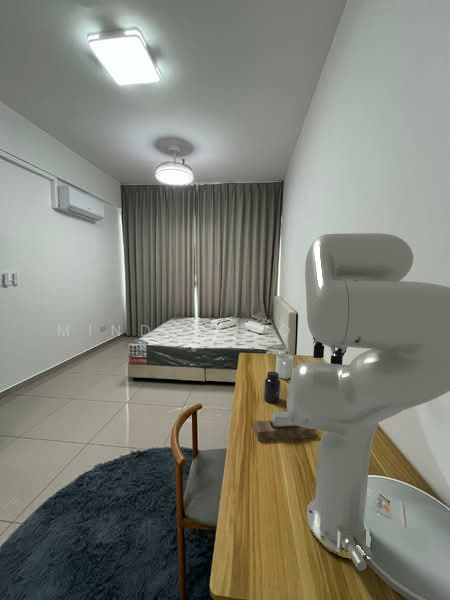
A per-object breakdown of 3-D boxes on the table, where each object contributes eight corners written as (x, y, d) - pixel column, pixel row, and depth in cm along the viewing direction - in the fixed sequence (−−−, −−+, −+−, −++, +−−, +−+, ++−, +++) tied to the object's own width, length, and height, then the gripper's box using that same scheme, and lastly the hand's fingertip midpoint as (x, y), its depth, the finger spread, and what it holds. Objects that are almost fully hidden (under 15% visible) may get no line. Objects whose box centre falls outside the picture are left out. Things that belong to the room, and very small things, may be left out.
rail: (307, 426, 89) (308, 418, 88) (315, 437, 83) (316, 428, 82) (253, 429, 86) (253, 421, 86) (257, 440, 80) (258, 431, 80)
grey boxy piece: (293, 430, 86) (294, 411, 86) (296, 435, 83) (297, 416, 83) (271, 431, 85) (272, 412, 84) (274, 437, 82) (275, 417, 82)
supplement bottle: (279, 404, 103) (281, 377, 102) (263, 402, 105) (264, 375, 104) (279, 397, 110) (280, 371, 109) (264, 395, 111) (265, 369, 110)
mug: (275, 372, 139) (276, 353, 138) (292, 374, 137) (293, 355, 136) (274, 381, 127) (275, 360, 126) (292, 383, 125) (293, 362, 124)
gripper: (362, 310, 63) (357, 374, 65) (326, 303, 80) (323, 354, 82) (335, 310, 62) (330, 375, 64) (304, 302, 79) (301, 354, 81)
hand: (326, 363), depth 73 cm, fingers open, 9 cm apart
